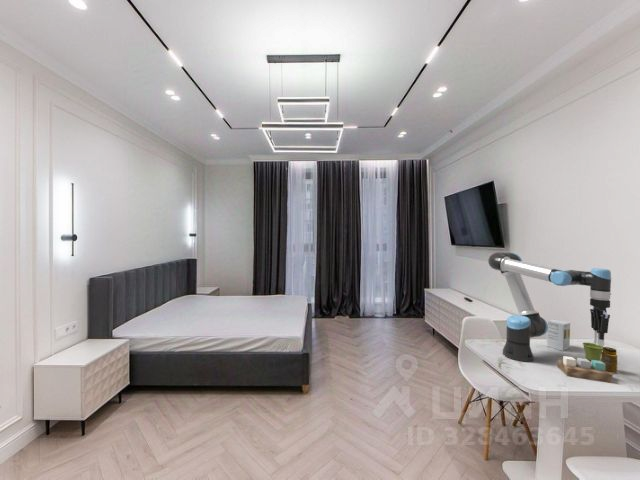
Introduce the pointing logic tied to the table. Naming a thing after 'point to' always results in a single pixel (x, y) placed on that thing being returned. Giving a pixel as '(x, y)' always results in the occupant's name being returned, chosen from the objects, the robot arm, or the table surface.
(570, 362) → the cream white cube
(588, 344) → the plant pot
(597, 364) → the teal cube
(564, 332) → the supplement box
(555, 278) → the robot arm
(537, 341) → the table surface
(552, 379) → the table surface
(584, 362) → the grey cube
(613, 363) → the condiment
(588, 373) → the wooden tray
